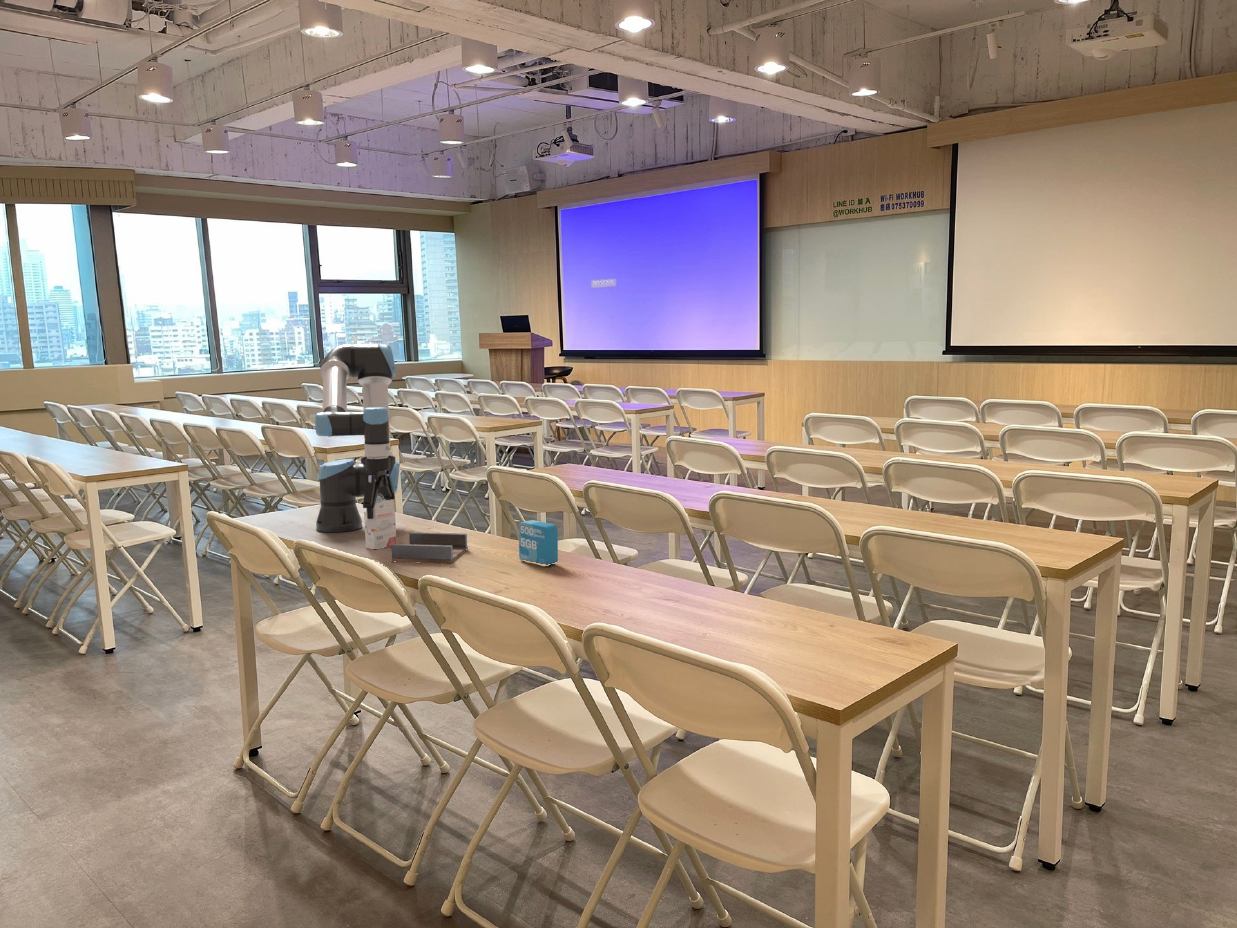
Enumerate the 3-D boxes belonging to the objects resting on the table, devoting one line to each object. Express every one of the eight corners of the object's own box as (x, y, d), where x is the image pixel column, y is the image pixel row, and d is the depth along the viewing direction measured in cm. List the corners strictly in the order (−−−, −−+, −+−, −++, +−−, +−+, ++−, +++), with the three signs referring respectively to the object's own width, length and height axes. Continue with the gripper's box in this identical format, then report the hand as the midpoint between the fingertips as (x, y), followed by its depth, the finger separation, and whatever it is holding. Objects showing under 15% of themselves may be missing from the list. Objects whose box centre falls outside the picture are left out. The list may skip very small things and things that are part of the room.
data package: (518, 561, 264) (518, 521, 262) (530, 558, 267) (529, 519, 265) (547, 568, 256) (546, 527, 254) (558, 565, 259) (558, 524, 258)
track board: (411, 547, 280) (411, 531, 279) (467, 548, 278) (467, 533, 277) (391, 561, 262) (390, 545, 262) (450, 563, 260) (450, 547, 260)
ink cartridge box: (386, 542, 286) (385, 497, 284) (397, 545, 283) (395, 499, 281) (364, 548, 279) (362, 501, 277) (374, 550, 276) (373, 503, 274)
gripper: (374, 462, 264) (376, 532, 267) (403, 452, 289) (405, 516, 292) (349, 462, 265) (352, 532, 268) (380, 452, 290) (383, 516, 293)
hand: (380, 524), depth 280 cm, fingers open, 13 cm apart
